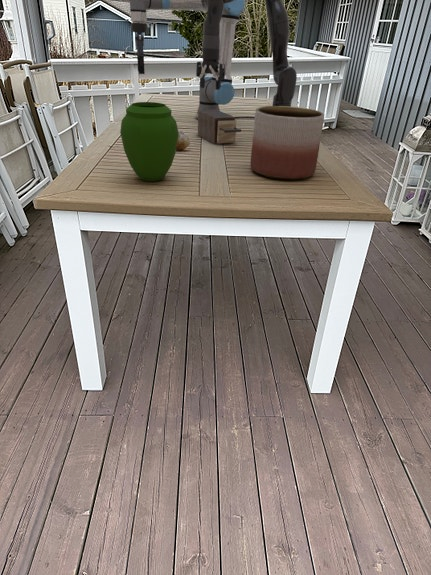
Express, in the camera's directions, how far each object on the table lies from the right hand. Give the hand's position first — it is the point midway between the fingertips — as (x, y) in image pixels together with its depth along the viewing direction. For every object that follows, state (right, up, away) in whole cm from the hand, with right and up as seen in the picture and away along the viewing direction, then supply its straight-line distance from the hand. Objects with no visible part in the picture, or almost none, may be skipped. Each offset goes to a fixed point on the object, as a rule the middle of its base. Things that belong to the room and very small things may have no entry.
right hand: (209, 88), depth 186 cm
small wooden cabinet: (+2, -16, +19) cm, 25 cm away
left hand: (-35, +19, +22) cm, 45 cm away
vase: (-20, -51, -39) cm, 68 cm away
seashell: (-14, -29, -3) cm, 32 cm away
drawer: (+5, -18, +14) cm, 23 cm away
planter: (+29, -45, -25) cm, 59 cm away
